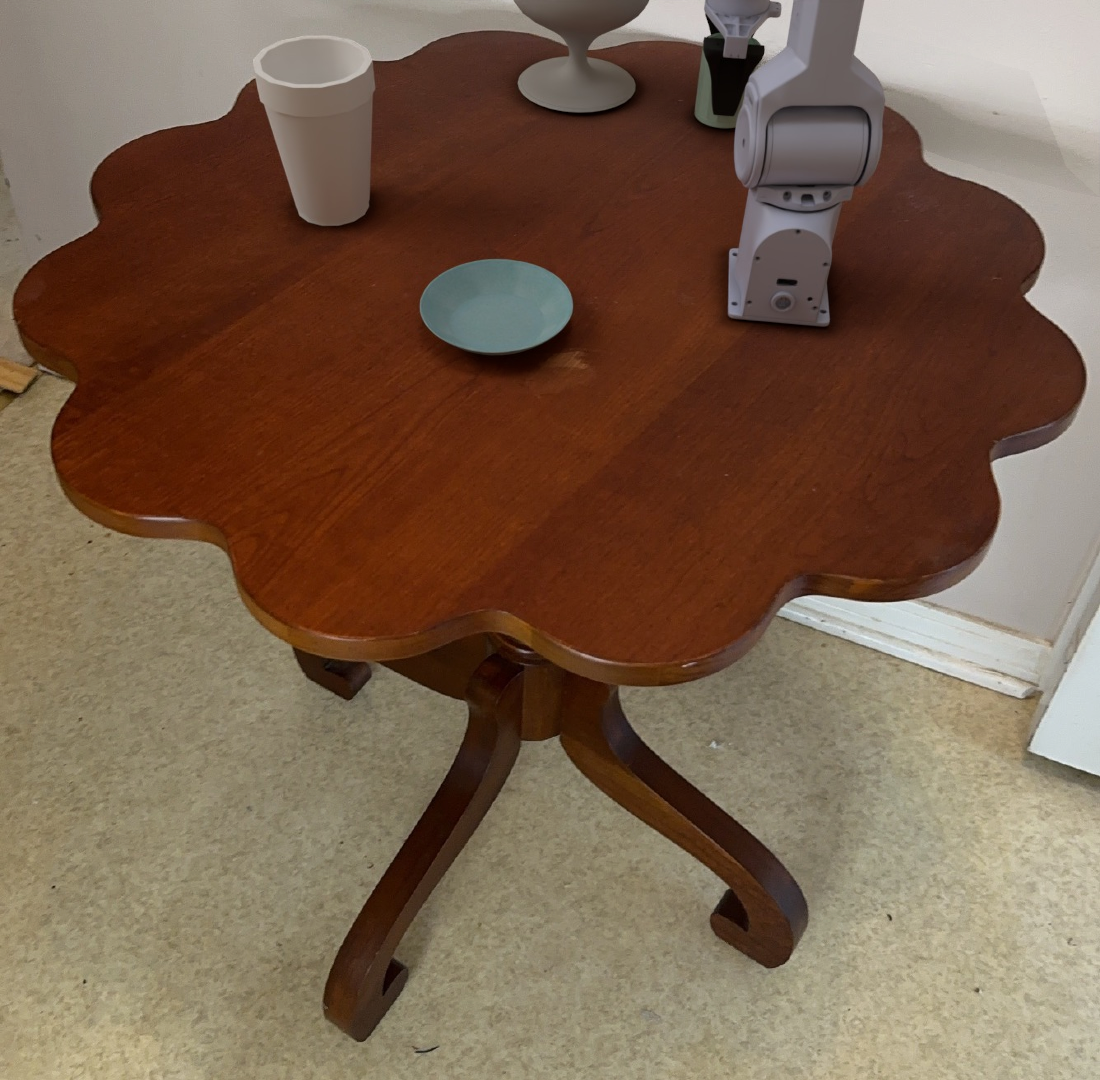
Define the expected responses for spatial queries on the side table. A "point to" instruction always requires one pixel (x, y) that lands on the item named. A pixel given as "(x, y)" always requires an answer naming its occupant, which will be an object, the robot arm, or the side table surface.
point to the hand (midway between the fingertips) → (724, 99)
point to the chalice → (578, 55)
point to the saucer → (496, 306)
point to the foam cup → (321, 122)
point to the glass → (705, 99)
